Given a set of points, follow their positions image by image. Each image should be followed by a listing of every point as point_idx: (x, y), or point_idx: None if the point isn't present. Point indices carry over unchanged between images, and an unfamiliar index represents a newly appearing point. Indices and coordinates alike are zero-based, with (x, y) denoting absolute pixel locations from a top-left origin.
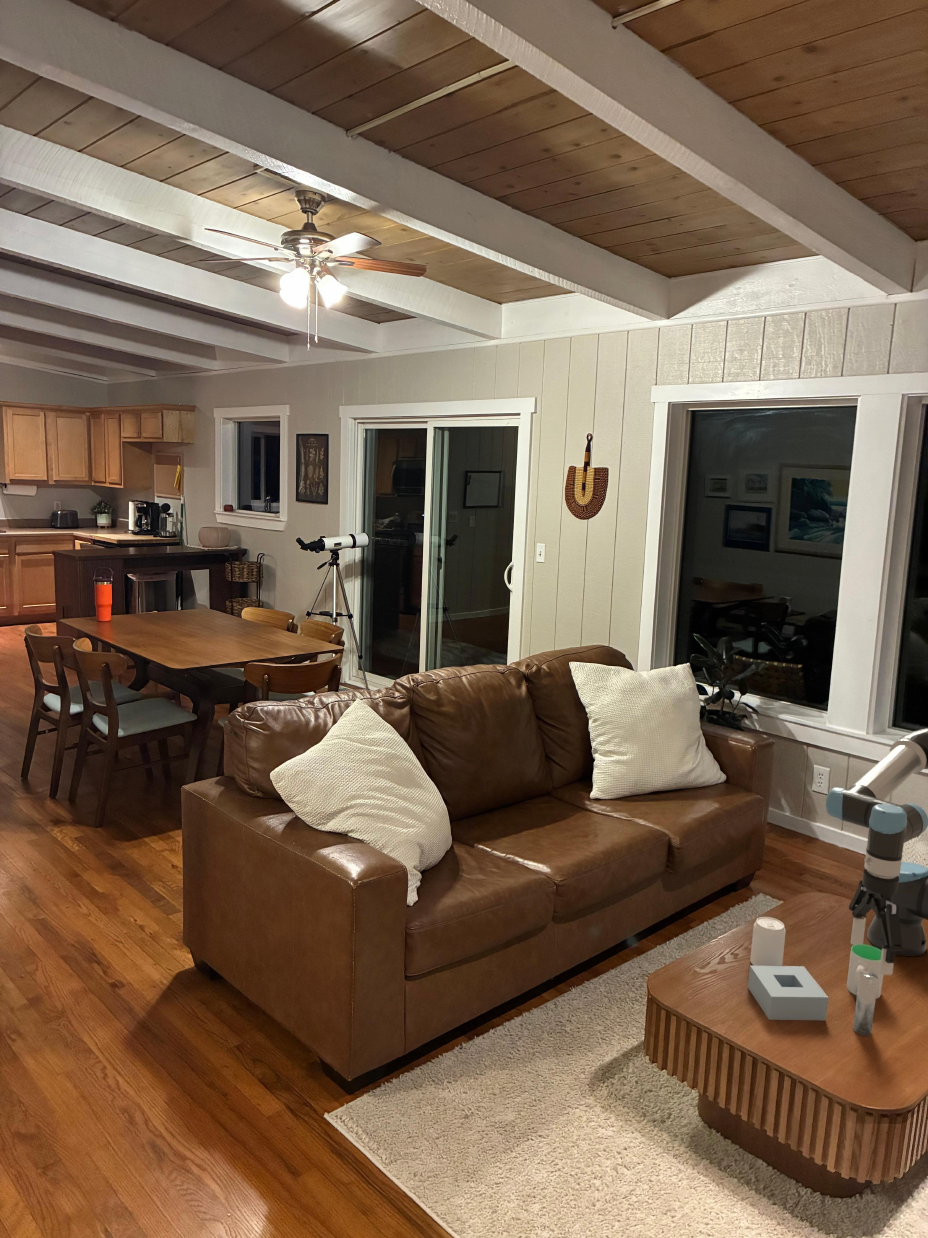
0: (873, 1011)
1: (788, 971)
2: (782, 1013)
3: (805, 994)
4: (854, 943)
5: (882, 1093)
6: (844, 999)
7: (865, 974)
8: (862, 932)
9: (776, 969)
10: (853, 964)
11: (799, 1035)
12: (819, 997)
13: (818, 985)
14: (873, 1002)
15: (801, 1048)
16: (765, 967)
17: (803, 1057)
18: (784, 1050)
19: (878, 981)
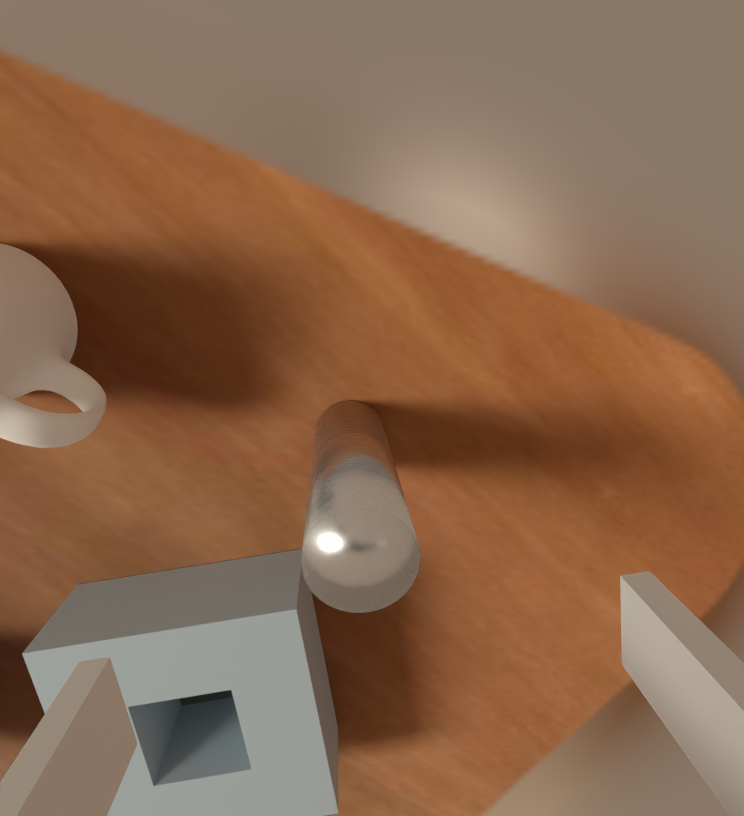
0: (380, 441)
1: None
2: (330, 711)
3: (292, 694)
4: (127, 736)
5: (710, 478)
6: (115, 433)
7: (346, 579)
8: (46, 795)
9: None
10: None
11: (414, 653)
12: (303, 644)
13: (196, 628)
14: (393, 468)
15: (488, 661)
16: None
17: (535, 665)
18: (504, 710)
19: (10, 288)
